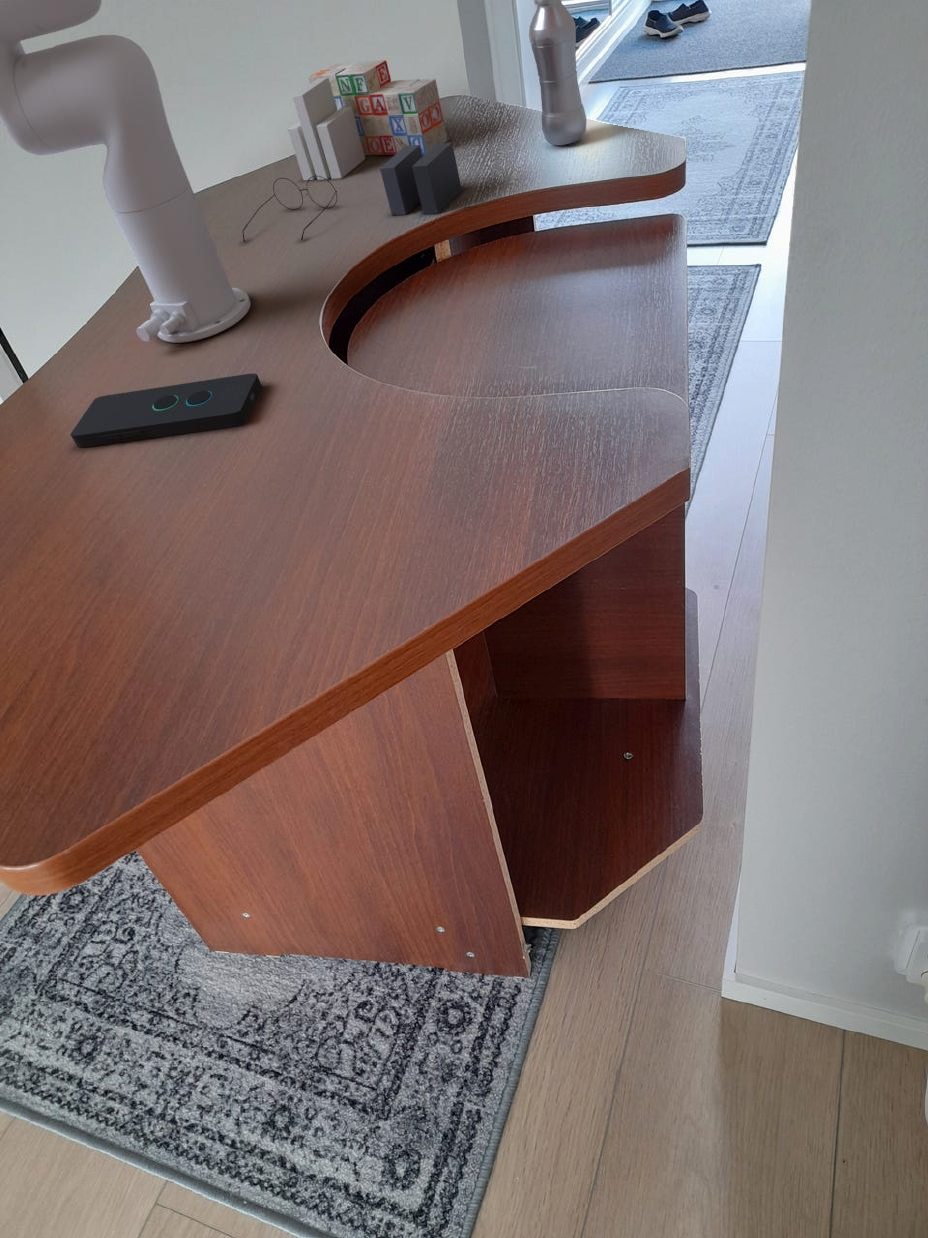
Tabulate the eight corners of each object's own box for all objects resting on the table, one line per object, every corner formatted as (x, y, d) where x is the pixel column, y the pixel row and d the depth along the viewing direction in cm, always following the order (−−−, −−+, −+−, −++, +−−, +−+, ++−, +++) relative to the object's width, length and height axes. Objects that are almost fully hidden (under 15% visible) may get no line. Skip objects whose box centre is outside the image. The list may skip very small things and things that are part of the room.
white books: (342, 178, 145) (326, 124, 139) (303, 180, 148) (287, 128, 142) (365, 158, 149) (351, 106, 144) (327, 161, 153) (312, 110, 147)
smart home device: (238, 411, 93) (67, 436, 97) (244, 425, 94) (75, 449, 98) (258, 370, 99) (95, 395, 103) (263, 383, 100) (102, 408, 104)
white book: (327, 179, 146) (302, 94, 137) (317, 180, 147) (291, 96, 138) (351, 159, 151) (328, 76, 142) (341, 160, 151) (318, 78, 143)
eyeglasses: (307, 240, 128) (295, 204, 125) (238, 242, 133) (225, 208, 130) (345, 207, 135) (335, 172, 131) (278, 210, 140) (267, 176, 137)
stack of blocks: (449, 141, 147) (431, 56, 138) (427, 156, 144) (407, 70, 135) (352, 140, 158) (330, 62, 150) (329, 155, 155) (306, 75, 146)
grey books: (438, 213, 125) (427, 164, 121) (391, 215, 128) (379, 167, 124) (461, 189, 130) (452, 141, 125) (416, 191, 133) (405, 145, 129)
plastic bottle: (576, 150, 131) (557, -11, 118) (536, 150, 135) (513, -6, 121) (596, 133, 135) (580, -26, 121) (556, 134, 138) (537, -20, 125)
